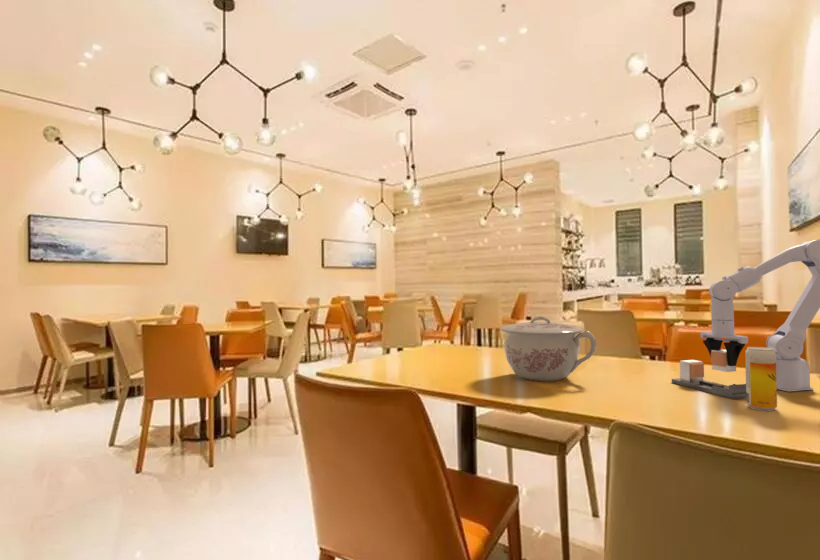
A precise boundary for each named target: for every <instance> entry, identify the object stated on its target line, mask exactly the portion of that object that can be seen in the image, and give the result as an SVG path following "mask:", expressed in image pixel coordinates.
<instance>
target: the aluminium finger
mask: <svg viewBox="0 0 820 560" xmlns="http://www.w3.org/2000/svg"><path fill="white" fill-rule="evenodd" d="M710 361H711V363H710V365H711V369H712V370H716V371H720V372H725V373H733V372H737V365H736V366H729V365H728V358H727V351H726V349H723V348H721V349H716V350H712V352H711V357H710Z"/></svg>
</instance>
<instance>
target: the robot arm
mask: <svg viewBox="0 0 820 560" xmlns="http://www.w3.org/2000/svg"><path fill="white" fill-rule="evenodd" d="M794 262H795V263H796V262H801V263H802V264H803V265H805V266H806V267H807V268H808V270H809V272H810V274H811V275H812V276H811V277H810V280H809V281H808V283H807V285H806V286H805V288H804V290H803V292H802V293H801V295H800V296H799V298H798V300H797V301H796V303H795V304H794V306H793V308H792V310H790V311H791V312H790V313H789V314H788V317H787V318H786V320H785V321H784V322H783V324H782V325H780V326H779V327H778V328H777V330H776V331H775V332H774V333H773V334H771V335H769V336H768V337H767V339H766V341H765V342H766V343H765V345H766V347H767V348H773V349H774V351H775V353H776V378H777V390H778V391H779V390H780V391H784V392H789V393H790V392H799V391H809V390H810V391H811V390H812V391H813V390H814V387H811V374H810V373H811V369H810V368H811V367H810V364H809V363H808V361H806V360H805V359H804V358H801V355H802V354H803V352H804V344H805V343H804V342H805V340H806V339H807V334H806V333H807V332H806V331H807V330H808V328H809V326H810V325H811V324H812V321H813V320H814V318H815V316H816V315H817V314H818V311H819V310H820V238H819V239H814V240H811V241H808V240H807V241H803V242H800V243H799V244H797V245H794V246H791V247H789V248H786V249H784V250H783V251H781V252H779V253H778V254H775V255H774V256H771V257H770V258H768V259H767V260H764V261H763V262H761V263H759V264H758V265H756V266H755V267H754V266H753V267H752V266H745V267H743V266H740V267H738V268H737V271H736V272H733V273H731V274H729V275H728V276H726V275H725V276H722V277H721V279H722V280H719V281H715V282H713V283H711V285H710V286H709V289H708V294H709V296H710V297H711V300H710V301H711V302H710V303H711V305H710V310H711V312H710V313H711V318H710V319H711V332H709V331H700V332H699V333H700V339H705V340H702V343H703V344H704V345H705V347H706V349H707V351H708V353H709V357H710V358H711V352H712V350H716V349H722V344H723V346H724V348H725V350H726V351H727V358H728V365H729V366H736V367H737V363H738V359H739V356H740V354H741V352H742V350H743V349H744V348H745V346H746V344H749V337H748V336H747V335H739V334H735V312H734V309H735V308H734V307H735V305H734V297H735V296H736V294H739V293H741V292H743V291H745V290H747V289H750V288H751V287H753V286H754V285H757V284H759V283H760V282H761V280H762V277H763V276H764V275H767V274H769V273H771V272H773V271H775V270H777V269H780V268H782V267H783V266H786V265H787V264H789V263H794Z"/></svg>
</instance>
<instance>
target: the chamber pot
mask: <svg viewBox="0 0 820 560" xmlns="http://www.w3.org/2000/svg"><path fill="white" fill-rule="evenodd" d="M499 330H500V331H501V332H504V333H506V338H505V340H504V344H503V346H504V354H505V357H506V358H505V359H506V361H507V362H508V365H509V366H510V368H511V369H512V371H513V373H514V374H515V375H516V376H518V377H520V378H523V379H525V380H529V381H535V382H556V381H560V380H562V379H566V378H568V377H569V376H570V375H571V373H573V372H574V371H575V370H576V369H577V368H578V367H579V366H580V365H581V364H582V363H584V362H585V361H587V360H589V359H590V358H591V357H592V356H593V355H594V353H595V352H596V351H597V346H598V345H597V339H596V337H595V336H594V334H593V333H592V332H590V331H589V330H584V328H582V327H579V326H576V325H573V324H568V323H561V322H553V321H551V320H550V319H548V317H544V316H535V317H533V318H532V319H531V320H530V321H527V322H519V323H512V324H507V325H504V326H501V327H500V328H499ZM582 338H588V339H589V340H590V349H589V352H588V353H586V355H585V356H583V357H581V358H579V354H580V346H581V339H582Z"/></svg>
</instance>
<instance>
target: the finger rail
mask: <svg viewBox="0 0 820 560" xmlns="http://www.w3.org/2000/svg"><path fill="white" fill-rule="evenodd" d="M679 374H680V376H679V378H671V384H674V383H675V385H678V384H679V385H678V386H682V385H683V387H686V386H687V387H686V388H689V387H690V388H689V389H693V388H694V389H693V390H697V389H698V390H697V391H700V390H701V391H700V392H704V391H705V393H708V394H713V395H715V394H716V396H719V395H720V396H719V397H723V398H728V399H730V398H731V400H739V399H746V383H741V384H736V383H733V384H729V385H726V384H723V383H718V382H714V381H709V380H706V379H704V378H705V364H704V362H703V361H702V360H697V359H687V360H686V359H685V360H679Z"/></svg>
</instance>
